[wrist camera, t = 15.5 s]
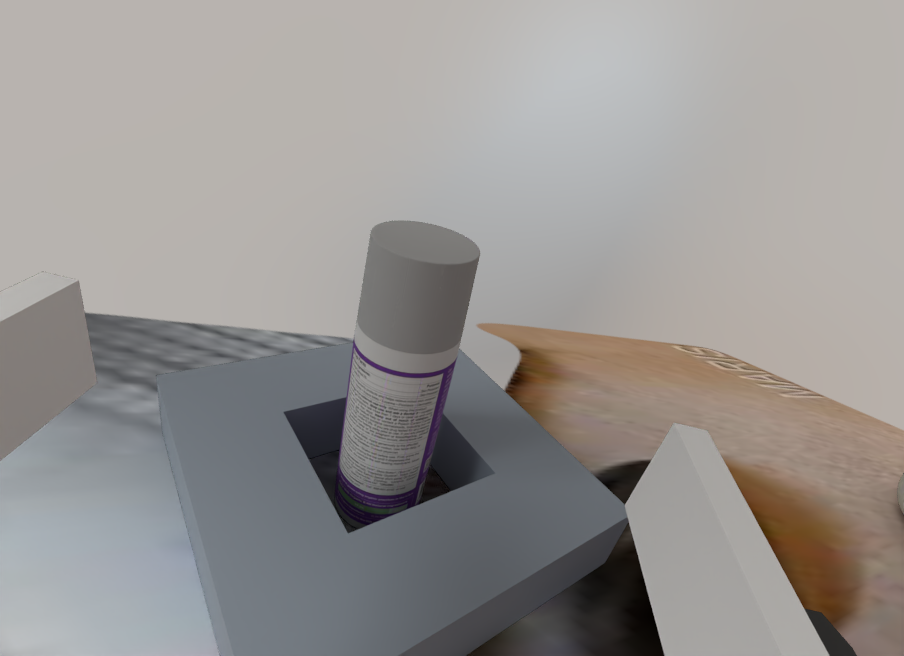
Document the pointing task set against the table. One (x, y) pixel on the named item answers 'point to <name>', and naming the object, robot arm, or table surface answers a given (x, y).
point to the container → (401, 365)
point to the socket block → (384, 542)
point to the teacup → (901, 493)
